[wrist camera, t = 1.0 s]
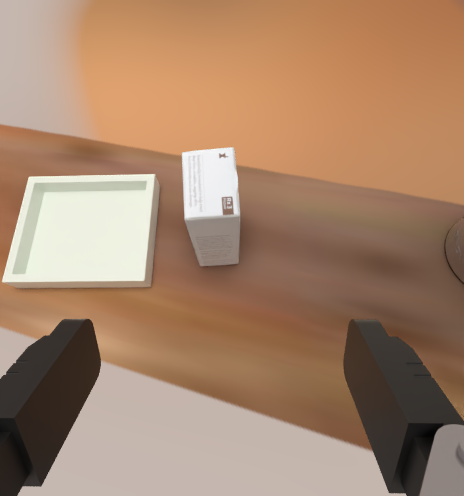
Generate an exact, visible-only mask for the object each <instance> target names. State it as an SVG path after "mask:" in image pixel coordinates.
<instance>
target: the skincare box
mask: <svg viewBox="0 0 464 496" xmlns="http://www.w3.org/2000/svg"><path fill="white" fill-rule="evenodd" d="M182 168H183V195H184V215H185V217H184V220H185V222H186V225H187V228H188V232H189V235H190V238H191V241H192V244H193V247H194V250H195V253H196V256H197V259H198V262H199V265H200V266H217V265H230V264H238V263H239V242H240V206H239V194H238V176H237V171H236V162H235V151H234V148H219V149H208V150H197V151H190V152H183V153H182Z"/></svg>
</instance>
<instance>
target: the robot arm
mask: <svg viewBox="0 0 464 496" xmlns="http://www.w3.org/2000/svg"><path fill="white" fill-rule="evenodd" d="M445 250H446V256H447V259H448V262H449V264H450V266H451V268H452V269H453V271H454V273H455V274H456V275H457V276H458V277H459V279H460V280H461V281H462V282H463V283H464V217H463V218H462V219H461V220H459V221H458V222H457V223H456V224H454V225H453V226H452V228H451V229H450V231H449V232H448V235H447V238H446V244H445ZM343 365H344V374H345V378H346V381H347V384H348V387H349V389H350V392H351V395H352V397H353V400H354V402H355V405H356V408H357V410H358V413H359V416H360V418H361V421H362V423H363V426H364V429H365V431H366V434H367V436H368V439H369V442H370V444H371V447H372V450H373V452H374V455H375V457H376V460H377V463H378V465H379V468H380V471H381V473H382V476H383V478H384V481H385V483H386V486H387V489H388V491H389V493H406V495H407V496H464V421H463V420H462V418H461V417H460V415H459V414H458V412H457V411H456V410H455V408H454V407H453V405H452V404H451V403H450V401H449V400H448V398H447V397H446V395H445V394H444V393H443V391H442V390H441V388H440V387H439V385H438V384H437V383H436V381H435V380H434V378H431V374H430V373H429V371H428V370H427V368H426V367H425V366H423V363H422V361H421V360H420V358H419V357H418V356H417V354H416V353H415V351H414V350H413V349H412V348H411V347H410V346H408V345H407V344H406V343H405V342H403V341H402V340H401V339H399V338H398V337H389V336H388V334H387V333H386V331H385V330H384V328H383V327H382V325H381V323H380V322H379V321H378V320H351V321H350V323H349V327H348V333H347V340H346V346H345V353H344V362H343ZM100 366H101V358H100V353H99V349H98V344H97V340H96V335H95V331H94V327H93V323H92V321H91V320H90V319H64V320H62V321H61V322H60V323H59V324H58V326H57V327H56V328H55V329H54V330H53V332H52V333H51V334H50V335H49V336H44V337H42V338H41V339H39V340H38V341H36V342H35V343H33V344H32V345H30V346H29V347H28V348H27V349H26V350H25V351H24V352H23V354H22V355H21V356H20V357H19V358H18V359H17V360H16V363H14V364H13V365H12V366H11V367H10V368H9V370H8V371H7V372H6V375H3V376H2V378H1V379H0V496H17V495H18V493H19V492H20V490H21V488H22V486H42V484H43V482H44V480H45V478H46V476H47V474H48V472H49V470H50V469H51V467H52V465H53V463H54V461H55V459H56V457H57V455H58V453H59V451H60V449H61V447H62V445H63V444H64V441H65V440H66V438H67V436H68V434H69V432H70V430H71V428H72V426H73V424H74V422H75V421H76V419H77V417H78V414H79V413H80V411H81V409H82V407H83V405H84V403H85V401H86V399H87V398H88V395H89V394H90V392H91V390H92V388H93V386H94V384H95V382H96V380H97V378H98V376H99V372H100Z"/></svg>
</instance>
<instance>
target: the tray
mask: <svg viewBox="0 0 464 496" xmlns="http://www.w3.org/2000/svg"><path fill="white" fill-rule="evenodd" d="M159 194H160V185H159V183H158V180H157V178H156V176H155V174H142V175H93V176H43V177H29V179H28V183H27V187H26V191H25V195H24V199H23V202H22V206H21V210H20V214H19V218H18V222H17V226H16V230H15V233H14V237H13V241H12V245H11V249H10V253H9V257H8V261H7V265H6V268H5V272H4V276H3V280H2V282H3V283H5V284H8V285H11V286H13V287H16V288H124V287H151V283H152V272H153V261H154V250H155V239H156V228H157V216H158V205H159Z"/></svg>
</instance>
